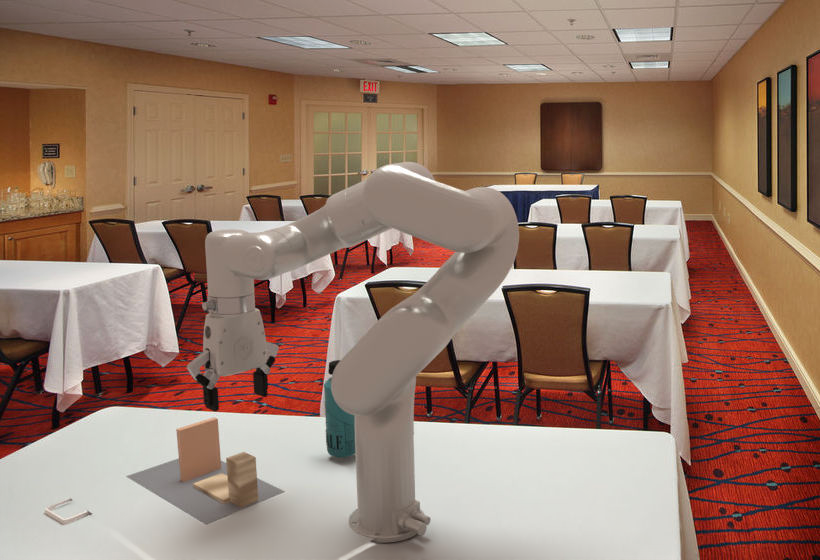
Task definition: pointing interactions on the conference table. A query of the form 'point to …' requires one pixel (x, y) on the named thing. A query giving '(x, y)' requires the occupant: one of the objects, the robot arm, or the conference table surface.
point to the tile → (198, 449)
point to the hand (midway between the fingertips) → (237, 402)
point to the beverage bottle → (338, 423)
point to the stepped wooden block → (233, 481)
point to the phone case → (62, 520)
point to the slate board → (194, 491)
